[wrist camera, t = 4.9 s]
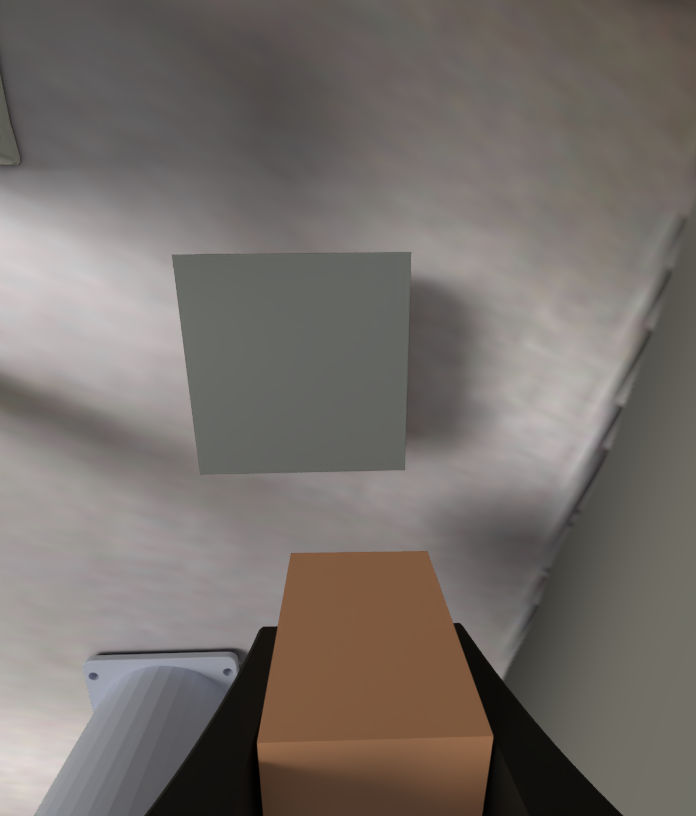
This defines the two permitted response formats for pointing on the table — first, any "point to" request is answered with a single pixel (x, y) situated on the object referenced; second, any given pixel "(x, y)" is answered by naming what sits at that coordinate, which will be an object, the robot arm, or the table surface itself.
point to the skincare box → (7, 135)
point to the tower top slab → (296, 360)
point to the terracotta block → (370, 695)
